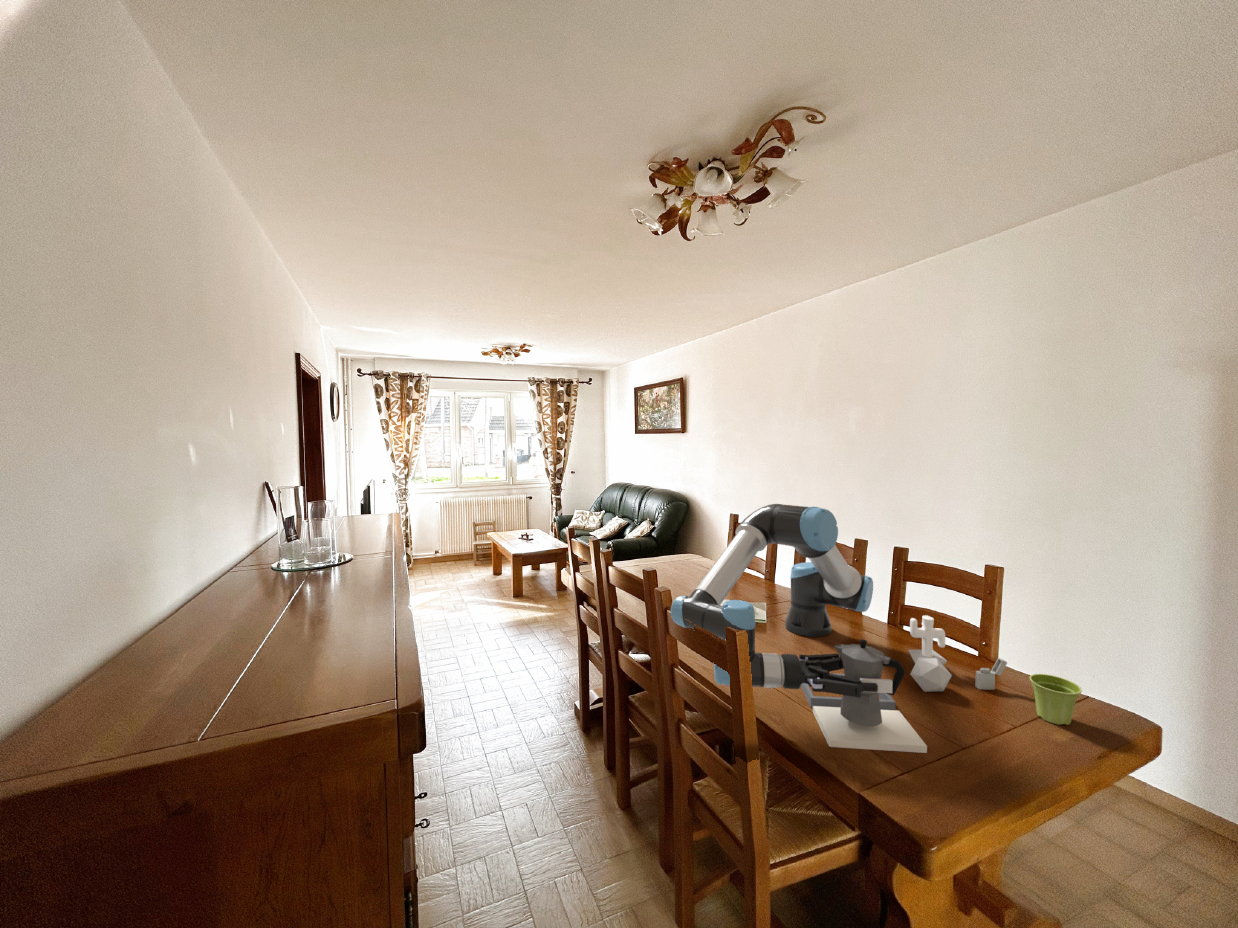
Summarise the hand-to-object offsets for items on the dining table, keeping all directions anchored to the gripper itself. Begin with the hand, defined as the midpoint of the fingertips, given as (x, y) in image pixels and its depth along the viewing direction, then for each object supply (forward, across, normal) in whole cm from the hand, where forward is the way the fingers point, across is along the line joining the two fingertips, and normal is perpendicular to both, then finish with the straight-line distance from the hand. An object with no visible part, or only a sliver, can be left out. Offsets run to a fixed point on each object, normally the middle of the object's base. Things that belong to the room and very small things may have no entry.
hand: (882, 675), depth 114 cm
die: (+21, -22, -13) cm, 33 cm away
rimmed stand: (-3, -16, -13) cm, 21 cm away
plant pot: (+43, -10, -13) cm, 46 cm away
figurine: (+26, -35, -13) cm, 45 cm away
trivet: (-3, 0, -13) cm, 14 cm away
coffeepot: (-4, 0, -10) cm, 11 cm away
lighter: (+37, -24, -13) cm, 46 cm away
